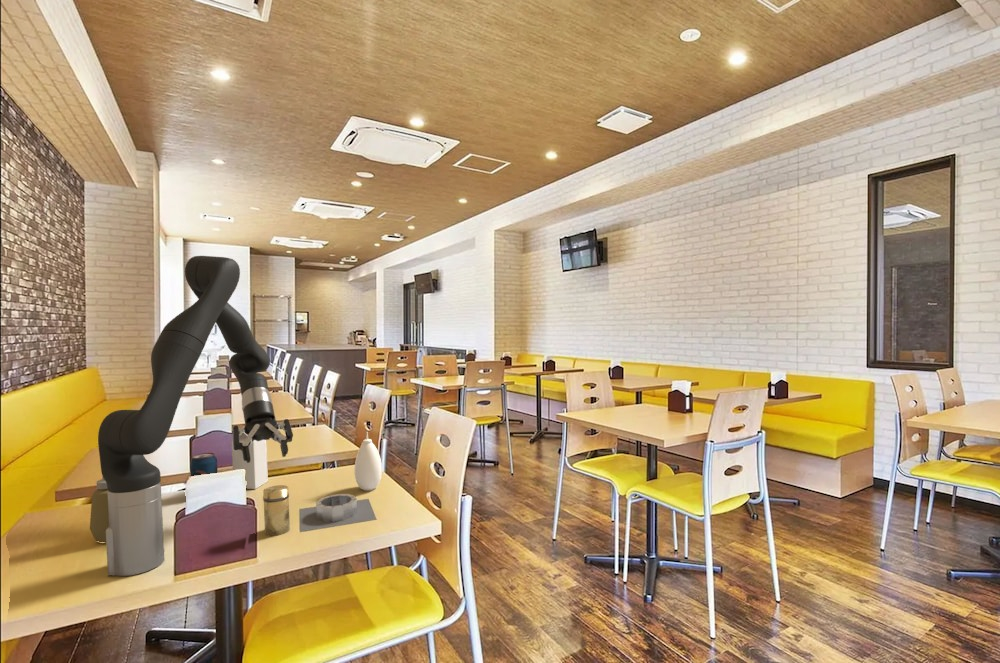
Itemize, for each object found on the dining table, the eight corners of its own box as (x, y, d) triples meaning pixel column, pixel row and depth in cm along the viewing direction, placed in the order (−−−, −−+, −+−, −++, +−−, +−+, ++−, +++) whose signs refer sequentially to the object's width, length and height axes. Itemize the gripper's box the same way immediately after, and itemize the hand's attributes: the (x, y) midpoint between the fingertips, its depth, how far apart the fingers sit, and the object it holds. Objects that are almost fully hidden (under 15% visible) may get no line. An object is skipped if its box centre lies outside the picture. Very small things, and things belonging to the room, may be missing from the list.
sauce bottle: (385, 486, 157) (383, 427, 157) (378, 495, 150) (376, 433, 149) (360, 486, 158) (358, 428, 157) (351, 495, 150) (349, 434, 149)
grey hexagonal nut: (317, 524, 128) (316, 510, 128) (315, 510, 137) (315, 497, 137) (358, 517, 131) (358, 504, 131) (354, 504, 141) (354, 491, 140)
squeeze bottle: (97, 535, 126) (93, 462, 126) (136, 529, 129) (133, 458, 129) (84, 549, 119) (80, 471, 118) (126, 542, 122) (122, 466, 121)
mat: (300, 535, 123) (299, 532, 123) (299, 511, 138) (299, 508, 138) (376, 522, 130) (376, 519, 130) (368, 501, 145) (368, 498, 145)
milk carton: (268, 481, 164) (265, 422, 164) (255, 489, 157) (252, 427, 157) (247, 481, 165) (244, 422, 164) (233, 489, 158) (230, 427, 157)
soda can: (186, 499, 150) (184, 458, 149) (201, 491, 157) (199, 452, 156) (208, 499, 149) (206, 458, 149) (223, 491, 156) (221, 452, 156)
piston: (263, 541, 121) (262, 494, 120) (265, 531, 126) (263, 487, 126) (290, 536, 123) (288, 491, 122) (290, 527, 128) (288, 483, 128)
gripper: (229, 402, 136) (237, 455, 127) (286, 396, 144) (297, 445, 135) (228, 419, 141) (235, 471, 132) (283, 412, 149) (294, 460, 140)
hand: (267, 458), depth 134 cm, fingers open, 8 cm apart
